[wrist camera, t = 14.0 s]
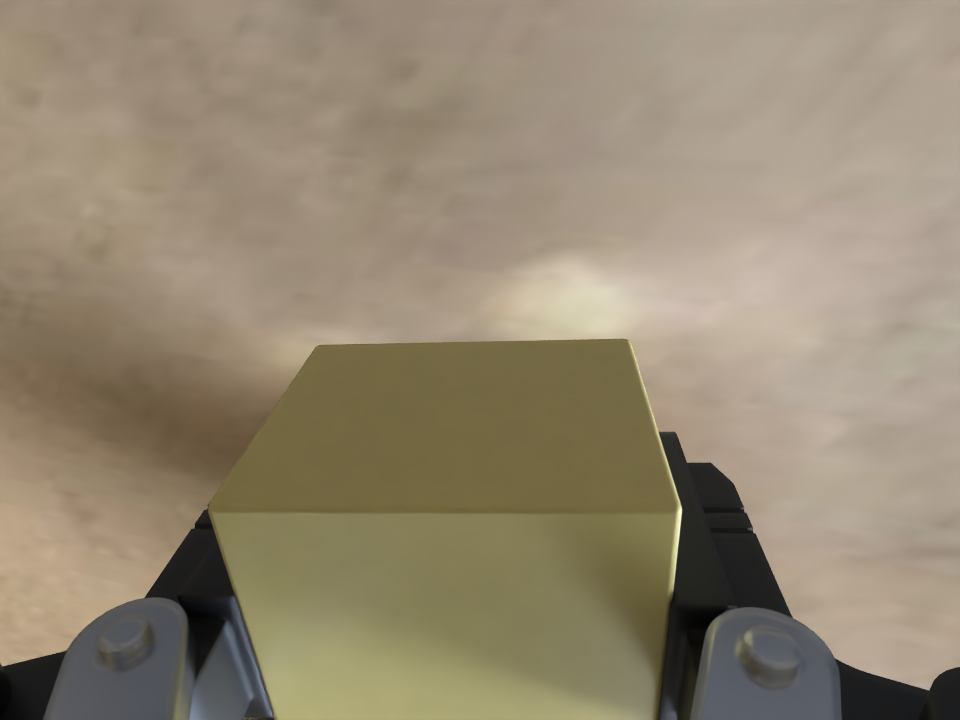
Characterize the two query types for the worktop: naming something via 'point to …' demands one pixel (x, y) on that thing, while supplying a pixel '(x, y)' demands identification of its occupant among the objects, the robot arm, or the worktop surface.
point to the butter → (456, 535)
